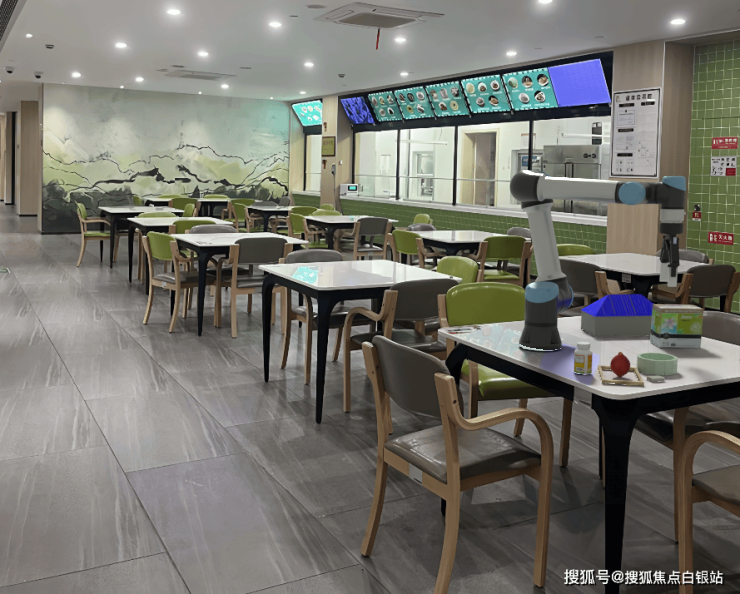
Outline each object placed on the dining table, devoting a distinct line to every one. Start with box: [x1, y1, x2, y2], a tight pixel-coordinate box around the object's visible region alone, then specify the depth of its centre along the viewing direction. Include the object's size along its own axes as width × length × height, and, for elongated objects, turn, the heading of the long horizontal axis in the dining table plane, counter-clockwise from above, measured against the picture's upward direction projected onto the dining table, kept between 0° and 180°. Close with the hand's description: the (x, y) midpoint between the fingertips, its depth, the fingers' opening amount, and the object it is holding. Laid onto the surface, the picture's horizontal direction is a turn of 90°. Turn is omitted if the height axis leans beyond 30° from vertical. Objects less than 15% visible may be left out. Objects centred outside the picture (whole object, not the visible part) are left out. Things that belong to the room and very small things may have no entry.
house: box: [580, 293, 654, 337], centre depth 290 cm, size 25×16×16 cm, turn 93°
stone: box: [646, 375, 666, 383], centre depth 217 cm, size 4×3×2 cm
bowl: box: [636, 352, 679, 376], centre depth 228 cm, size 12×12×4 cm
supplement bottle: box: [573, 341, 593, 375], centre depth 225 cm, size 5×5×10 cm
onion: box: [609, 351, 631, 378], centre depth 220 cm, size 6×6×8 cm
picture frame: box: [597, 365, 645, 387], centre depth 221 cm, size 12×19×1 cm, turn 166°
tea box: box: [649, 303, 705, 349], centre depth 264 cm, size 15×10×15 cm, turn 88°
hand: (667, 284), depth 249 cm, fingers open, 13 cm apart
